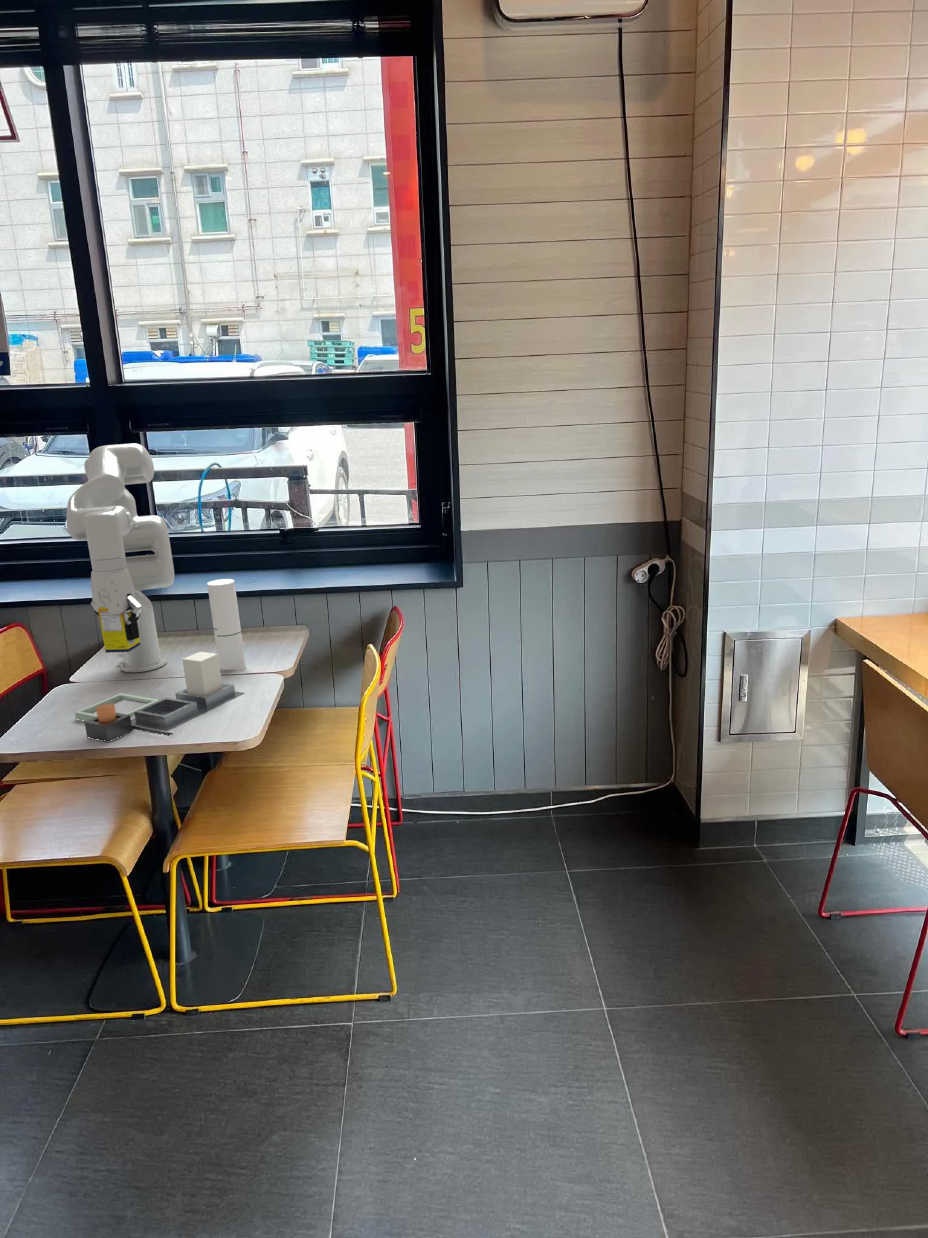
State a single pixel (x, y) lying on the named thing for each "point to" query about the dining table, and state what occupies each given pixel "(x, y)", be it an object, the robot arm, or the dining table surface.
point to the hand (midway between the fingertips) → (121, 637)
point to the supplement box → (115, 632)
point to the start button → (106, 713)
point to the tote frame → (88, 712)
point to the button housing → (108, 728)
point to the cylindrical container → (226, 624)
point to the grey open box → (180, 709)
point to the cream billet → (202, 673)
